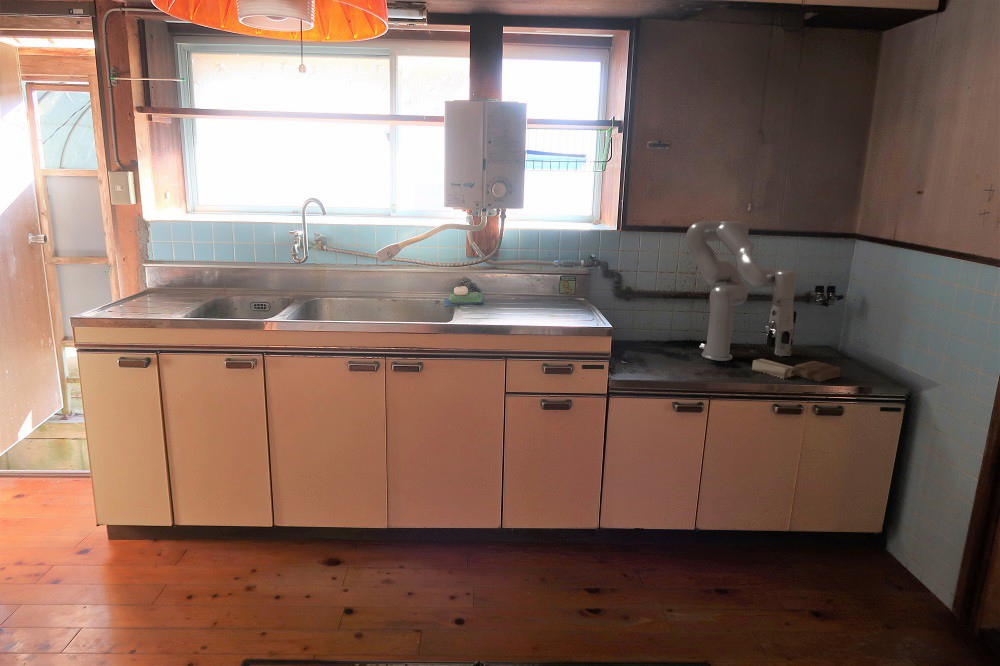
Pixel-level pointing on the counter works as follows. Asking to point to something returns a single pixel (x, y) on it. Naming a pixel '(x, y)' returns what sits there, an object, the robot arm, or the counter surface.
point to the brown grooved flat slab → (816, 371)
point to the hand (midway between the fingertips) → (777, 344)
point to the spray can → (780, 347)
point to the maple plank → (772, 368)
